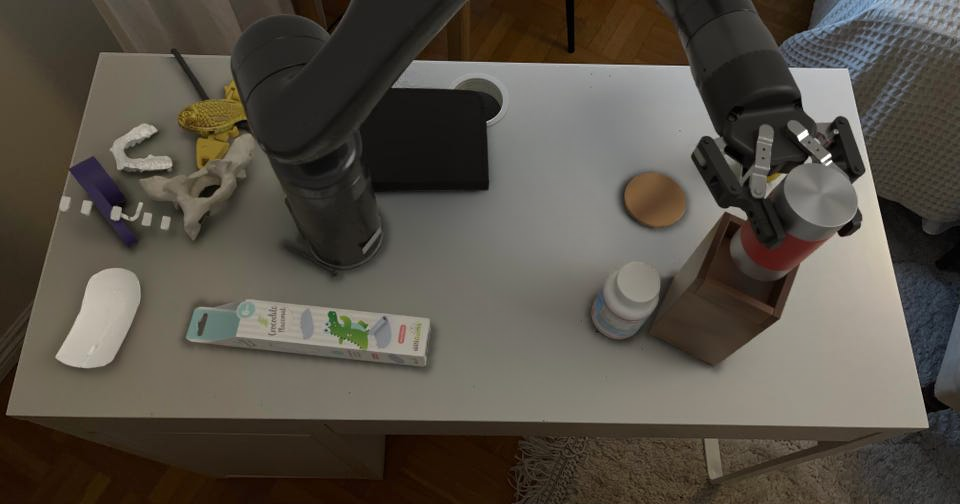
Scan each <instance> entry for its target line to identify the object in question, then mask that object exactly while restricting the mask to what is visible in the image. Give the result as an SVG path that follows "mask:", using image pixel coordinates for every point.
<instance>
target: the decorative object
mask: <svg viewBox="0 0 960 504" xmlns="http://www.w3.org/2000/svg"><path fill="white" fill-rule="evenodd" d="M254 151H255V138H254V136H253V134H252V133H244V134H242V135H240V136H237V137H235V139H234V140H233V142H232V143H231V144H230V148H229V150H228V151H227V152H226V153H225V155H224V158H221V159H214V160H210V161H209V162H208V163H207V162H206V163H207V167H206V168H202V169H200V170H199V169H198V170H196V171H194V172H193V173H191V174H190V175H188V176H186V175H184V174H183V173H182V174H178V175H175V176H174V177H172V178H167V177H164V176H163V175H157V174H156V175H153V176H150V177H146V178H140V179H139V180H138V183H139V185H140V187H141V189H144V192H145V193H146V194H147V195H148V196H149V197H150V199H152V200H153V201H160V202H162V201H169V202H172V203H173V206H174V208H175V210H176V211H179V210H180V209H182V212H183V218H182V220H183V228H184V232H185V233H186V234H187V235H188V236H189V238H190V239H191V241H193V242H194V241H195V240H196V238H197V236H198V234H199V233H200V230H201V225H202V224H203V223H204V221H205V218H206V217H209V216H210V215H211V213H212V208H213V205H214V203H217V202H223V201H227V200H229V198H231V197H232V195H233V192H234V191H235V189H236V188H237V187H238V185H237V181H239V180H242V179H245V178H246V177H247V174H246V169H245V168H246V167H247V166H248V165H249V164H250V163H251V162H252V155H253V152H254ZM214 185H215V186H220V187H219V188H218V189H216V190H215V191H214V192H213V194H212V195H211V196H209V197H205V196H203V192H204V190H206V189H207V188H208V187H209V186H214Z"/></svg>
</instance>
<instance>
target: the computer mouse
mask: <svg viewBox="0 0 960 504" xmlns="http://www.w3.org/2000/svg"><path fill="white" fill-rule="evenodd" d="M141 292H142V291H141V286H140V281H139V279H138V276H137V275H136V274H135V273H134V272H133V271H131V270H129V269H126V268H121V267H112V268H111V267H110V268H105V269H103V270H100V271H98V272H97V273H95V274H93V275H92V276H91V277H90V278H89V280H88V282H87V284H86V287H85V291H84V296H83V298H82V302H81V307H80V310H79V312H78V315H76V318H75V321H74V323H73V324H72V327H71V329H70V330H69V332H68V335H67V336H66V338H65V340H64V341H63V343H62V345H61V346H60V348H59V350H58V352H57V353H56V355H55V356H54V358H55V359H56V360H58V362H61V364H63V365H66V366H69V367H74V368H78V369H80V368H83V369H94V368H101V367H105V366H106V365H108V364H110V363H111V362H113V360H114V359H115V357H116V355H117V353H118V352H119V350H120V348H121V346H122V344H123V342H124V340H125V338H126V336H127V334H128V332H129V330H130V328H131V326H132V323H133V321H134V319H135V317H136V314H137V312H138V311H137V310H138V308H139V306H140V305H141V304H140V303H141V297H142V295H141V294H142V293H141Z"/></svg>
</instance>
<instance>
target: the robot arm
mask: <svg viewBox="0 0 960 504" xmlns="http://www.w3.org/2000/svg"><path fill="white" fill-rule="evenodd" d="M469 1H470V0H350V2H349V5H348V7H347V8H346V11H345V12H344V14H343V16H342V18H341V19H340V21H339V22H338V24H337V26H336V27H335V29H334V30H333V31H332V33H331V35H330V33H329V32H328V31H327V30H326V29H325V28H324V27H322V26H321V25H320V24H319V23H317V22H315V21H314V20H312V19H310V18H307V17H305V16H302V15H297V14H291V13H277V14H272V15H267V16H265V17H262V18H260V19H258V20H256V21H254V22H253V23H251V24H250V25H248V27H246V28H245V29H244V30H243V32H242V33H240V35H239V36H238V37H237V40H236V41H235V43H234V45H233V47H232V50H231V55H230V63H229V64H230V72H231V78H232V79H233V80H234V82H235V85H236V88H237V92H238V95H239V98H240V101H241V104H242V107H243V110H244V113H245V116H246V118H247V121H248V123H241V124H238V125H237V127H239V128H240V127H241V128H243V129H245V130H248V131H250V132H251V135H252V136H253V138H254V141H255V142H256V143H257V144H258V146H259V148H260V149H261V151H262V152H263V153H264V154H265V155H266V157H267V159H268V162H269V164H270V167H271V169H272V170H273V172H274V175H275V177H276V179H277V181H278V183H279V185H280V187H281V189H282V191H283V193H284V195H285V198H284V204H285V206H286V208H287V210H288V212H289V215H290V216H291V219H292V220H293V222H294V224H295V226H296V229H297V231H298V233H299V234H300V237H301V239H302V240H304V241H306V242H307V246H308V248H309V250H310V253H311V254H312V256H313V257H314V258H315V259H316V261H317V262H319V263H320V264H322V265H324V266H326V267H328V268H330V269H331V268H332V269H337V270H351V269H355V268H358V267H360V266H363V265H365V264H366V263H368V262H369V261H371V260H372V259H373V258H374V257H375V256H376V255H377V253H378V252H379V250H380V248H381V246H382V245H383V242H384V235H385V232H384V225H383V221H382V219H381V217H380V211H379V210H380V209H379V207H378V202H377V199H376V194H375V191H374V188H373V184H372V180H371V175H370V171H369V167H368V162H367V158H366V154H365V150H364V145H363V141H362V136H361V133H360V130H359V128H360V127H361V126H362V125H363V123H364V122H365V121H366V120H367V118H368V117H369V116H370V115H371V113H372V112H373V111H374V110H375V108H376V107H377V106H378V104H379V103H380V102H381V101H382V99H383V98H384V97H385V95H386V94H387V93H388V92H389V90H390V89H391V88H393V86H394V85H395V84H396V83H397V81H398V80H399V79H400V78H401V76H403V74H404V73H405V71H406V70H407V69H408V68H409V66H410V65H411V64H412V63H413V62H414V61H415V59H416V58H418V56H419V55H420V54H421V52H422V51H423V50H424V49H425V48H426V47H427V46H428V45H429V44H430V43H431V42H432V41H433V39H435V38H436V36H437V35H438V34H439V33H440V32H441V31H442V30H443V29H444V27H446V25H448V23H449V22H450V21H451V20H452V19H453V18H454V17H455V16H456V15H457V13H458V12H460V10H461V9H462V8H463V7H464V6H465V5H466V4H467V3H468V2H469ZM650 1H651V2H652V3H653V4H654V5H655V6H656V7H657V8H658V10H660V11H661V12H662V14H663V15H664V16H665V17H666V18H667V19H668V21H669V23H671V24H672V27H674V28H675V32H676V34H677V36H678V38H679V41H680V44H681V45H682V48H683V50H684V53H685V55H686V58H687V60H688V64H689V69H690V73H691V76H692V79H693V81H694V85H695V86H696V87H695V88H697V91H698V93H699V96H700V98H701V100H702V102H703V105H704V108H705V110H706V112H707V115H708V118H709V119H710V121H711V124H712V126H713V129H714V131H715V133H716V134H717V136H719V137H715V138H713V137H712V136H710V135H703V136H701V138H700V139H699V141H698V143H697V144H696V146H695V147H694V149H693V151H692V152H691V154H690V159H691V161H692V163H693V165H694V166H695V168H696V169H697V172H698V173H699V175H700V176H701V178H702V180H703V182H704V184H705V185H706V187H707V189H708V191H709V193H710V194H711V196H712V197H713V198H712V199H714V201H715V203H716V204H717V206H718V207H719V208H720V209H726V210H727V209H729V208H730V207H731V208H738V209H740V210H741V211H742V212H744V213H745V215H746V219H747V218H748V220H749V222H750V225H751V227H752V230H753V232H754V234H755V237H756V239H757V240H758V241H759V242H760V243H761V244H763V243H764V245H765V247H766V249H768V250H769V249H775V248H778V247H779V246H780V245H781V244H782V243H783V242H784V241H785V240H786V234H785V232H784V229H783V227H782V225H781V223H780V220H779V218H778V216H777V213H776V211H775V209H774V207H773V204H772V202H771V200H770V198H768V199H765V198H766V192H767V183H766V181H767V177H769V176H772V175H774V174H776V173H781V175H782V174H784V175H787V174H788V173H789V172H790V171H791V170H792V169H793V168H795V167H797V166H799V165H802V164H806V162H807V161H808V160H809V158H810V159H811V163H818V164H823V165H827V166H829V167H832V168H834V169H836V170H837V171H839V172H840V173H842V174H843V175H844V176H845V177H846V178H847V179H848V180H849V181H850V182H851V184H852V185H853V184H854V183H855V182H857V180H859V178H861V177H862V176H863V175H864V174H866V166H865V163H864V160H863V158H862V155H861V152H860V149H859V146H858V143H857V141H856V138H855V136H854V135H855V134H854V133H853V130H852V127H851V124H850V120H848V118H847V117H845V116H843V115H838V116H836V117H835V118H834V119H833V120H832V121H831V122H829V121H828V122H816V121H815V120H814V118H812V117H811V116H809V114H807V112H806V111H805V110H804V107H803V99H802V93H801V90H800V88H799V86H798V83H797V82H796V80H795V78H794V76H793V74H792V71H791V70H790V68H789V66H788V64H787V62H786V59H785V58H784V56H783V54H782V52H781V50H780V48H779V46H778V44H777V42H776V39H775V38H774V36H773V35H772V33H771V31H770V30H769V29H768V27H767V26H766V25H765V24H764V22H763V21H762V19H761V17H760V15H759V13H758V10H757V9H756V7H755V5H754V3H753V1H752V0H650ZM170 53H171V54H172V55H173V56H174V58H175V59H176V61H177V62H178V64H179V65H180V67H181V69H182V70H183V72H184V73H185V75H186V76H187V78H188V79H189V81H191V83H192V85H193V87H194V88H195V90H196V91H197V93H198V95H199V96H200V99H202V101H205V100H211V99H210V97H209V96H208V94H207V93H206V91H205V90H204V88H203V86H202V85H201V83H200V81H199V80H198V78H197V76H195V74H194V73H193V71H192V70H191V68H190V66H189V65H188V64H187V62H186V60H185V59H184V57H183V55H182V54H181V53H180V52H179V50H178V49H177V48H174V47H172V48H171V49H170ZM726 156H727V157H729V158H730V159H732V160H733V161H735V162H736V163H738V164H739V178H737V177H736V175H735V173H734V172H733V169H732V168H731V166H730V165H729V163H728V161H727V159H726ZM740 165H741V167H740ZM863 221H864V220H863V214H862V211H861V210H860V209H859V207H858V208H857V211H856V214H855V215H854V217H853V218H852V219H851V220H850V221H849V222H848V223H847V224H846V225H844V226H843V227H842V228H841V229H840V230H838V231H837V232H836V234H837V236H839V237H840V238H844V237H850V236H852V235H853V234H855V233H856V232H857V231H858V230H860V229H861V227H862V222H863Z"/></svg>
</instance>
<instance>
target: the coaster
mask: <svg viewBox="0 0 960 504" xmlns="http://www.w3.org/2000/svg"><path fill="white" fill-rule="evenodd" d="M623 204H624V207H625V209H626V211H627V213H628V214H629V215H630V216H631V217H632V218H633V219H634V220H635V221H636V222H638V223H639V224H641V225H643V226H645V227H648V228H654V229H663V228H669V227H670V226H672V225H675V224H676V223H677V222H678V221H679V220H680V219H681V218H682V217H683V214H684V213H685V212H686V211H685V210H686V207H687V199H686V195H685V192H684V190H683V189H682V187H681V186H680V185H679V183H678V182H677V181H675V180H674V179H673V178H671V177H670V176H668V175H665V174H662V173H659V172H644V173H641V174H638V175H636V176H634V177H633V178H632V179H631V180H630V181H629V182H628V183H627V185H626V187H625V190H624V193H623Z"/></svg>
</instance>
